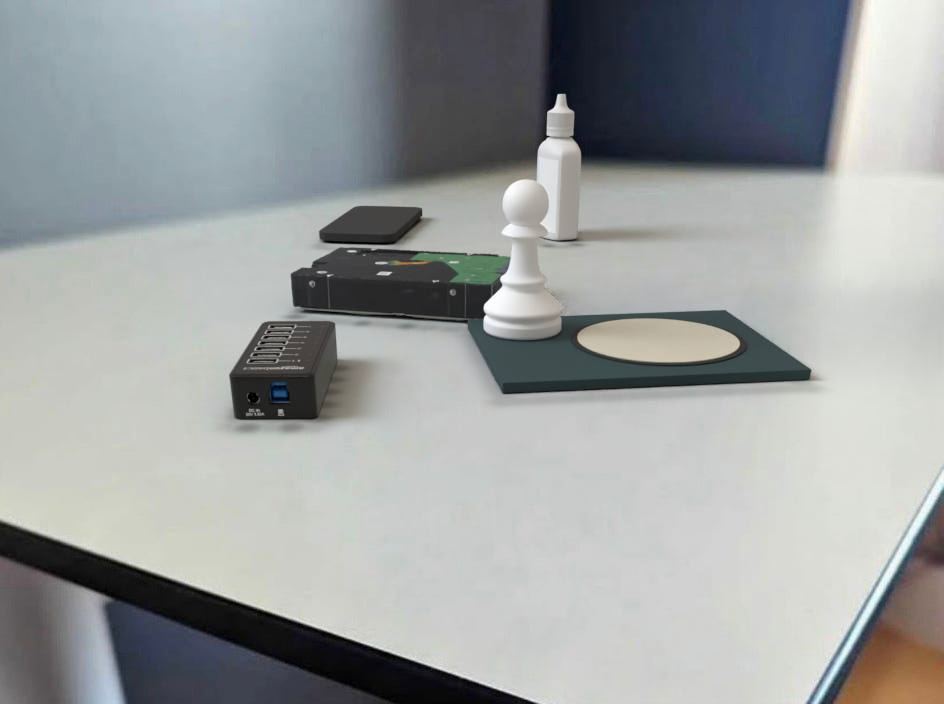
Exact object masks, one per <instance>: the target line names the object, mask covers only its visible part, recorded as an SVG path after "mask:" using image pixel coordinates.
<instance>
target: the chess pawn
mask: <svg viewBox="0 0 944 704" xmlns="http://www.w3.org/2000/svg"><path fill="white" fill-rule="evenodd" d="M548 209H549V198H548V194H547V192H546V190H545V188H544V187H543V186H542V185H541V184H540V183H538V182H537V180H534V179H527V178H526V179H519V180H516V181H514V182H513V183H511V184H510V185H509V186H508V187H507V189H506V190H505V192H504V194H503V197H502V211H503V215H504V216H505V218H506V220H507V221H508V222H509V223H508V224H507V225H506V226H505V227H504V228H503V229H502V230H501V235H502V236H504V237H507V238H511V239H512V241H511V253H510V256H511V259H510V264H509V268H508V270H507V272H506V273H505V274H504V275H503V276H501V278H500V281H501V283H502V285H503V286H502V288H500V289H499V290H498V291H497V292H496V293H495V294H494V295H493V296H492V297H491V298H490V299H489V300H488V301H487V302H486V303H485V305H484V312H485V313H486V315H485V317H484V330H485V332H486V333H487V334H489V335H491V336H493V337H497V338H501V339H507V340H517V341H529V340H540V339H546V338H550V337H553V336H555V335H557V334H558V333H559V332H560V331H561V323H562V321H561V317H560V316H561V314H562V313H563V305H562V304H561V302H559V301H558V299H556V298H555V296H554V295H553V294H552V293H551V292H550V291H549V290H548V289H547V288H546V286H545V285H546V284H547V283H548V277H547V276H546V275H545V274H543V273H542V271H541V269H540V263H539V254H538V253H539V252H538V239H539V238H543V237H544V236H547V235H548V231H547V229H546V228H545V227H544V226H543V225H541V224H539V223H540V222H542V220H543V219H544V218H545V217H546V215H547V212H548Z"/></svg>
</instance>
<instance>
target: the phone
mask: <svg viewBox="0 0 944 704" xmlns="http://www.w3.org/2000/svg"><path fill="white" fill-rule="evenodd" d="M422 217H423V207H419V206H398V205H397V206H396V205H395V206H394V205H393V206H392V205H391V206H390V205H357V206H353V207H352V208H351V209H349V210H348V211H346V212H345V213H343V214H342V215H340V216H339V217H337V218H335V219H334V220H333V221H332V222H330V223H328V224H327V225H325V226H324V227H322V228H320V229H319V231H318V236H319V238H318V239H319V240H321V241H325V242H351V243H393V242H395V241H397V240H398V239H399V238H400V237H401V236H403V234H405V232H406V231H408V230H409V229H410V228H411V227H412V226H413V225H414V224H415V223H416V222H418V221H419V220H420V219H421V218H422Z"/></svg>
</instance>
